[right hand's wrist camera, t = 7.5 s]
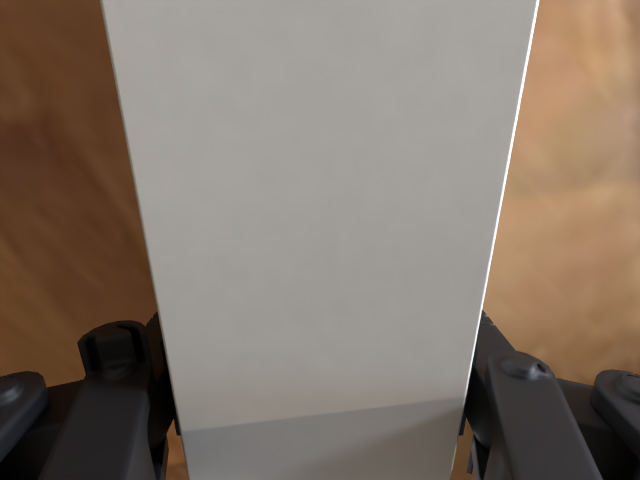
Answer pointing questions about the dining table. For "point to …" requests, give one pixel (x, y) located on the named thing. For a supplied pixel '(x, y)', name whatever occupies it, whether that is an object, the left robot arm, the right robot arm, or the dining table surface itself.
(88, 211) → the dining table surface
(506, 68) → the beam
